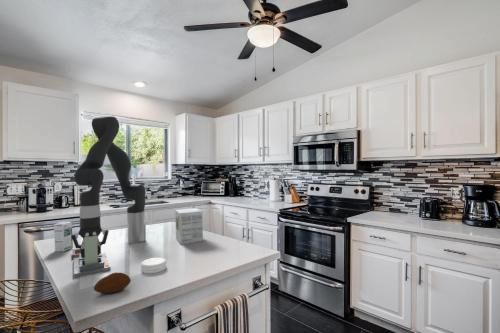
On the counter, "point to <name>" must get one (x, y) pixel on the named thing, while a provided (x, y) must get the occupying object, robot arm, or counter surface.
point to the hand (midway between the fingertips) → (91, 255)
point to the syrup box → (63, 236)
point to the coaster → (153, 265)
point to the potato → (112, 283)
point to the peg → (91, 250)
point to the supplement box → (189, 225)
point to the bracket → (76, 253)
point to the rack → (91, 266)
